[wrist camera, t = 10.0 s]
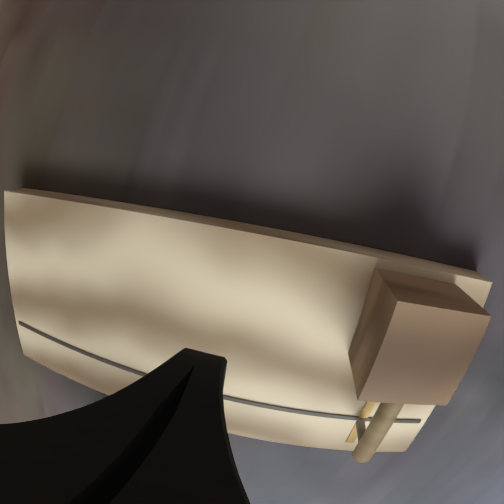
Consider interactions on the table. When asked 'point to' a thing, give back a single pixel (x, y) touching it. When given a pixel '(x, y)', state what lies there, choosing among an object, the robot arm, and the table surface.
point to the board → (205, 309)
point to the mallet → (410, 348)
